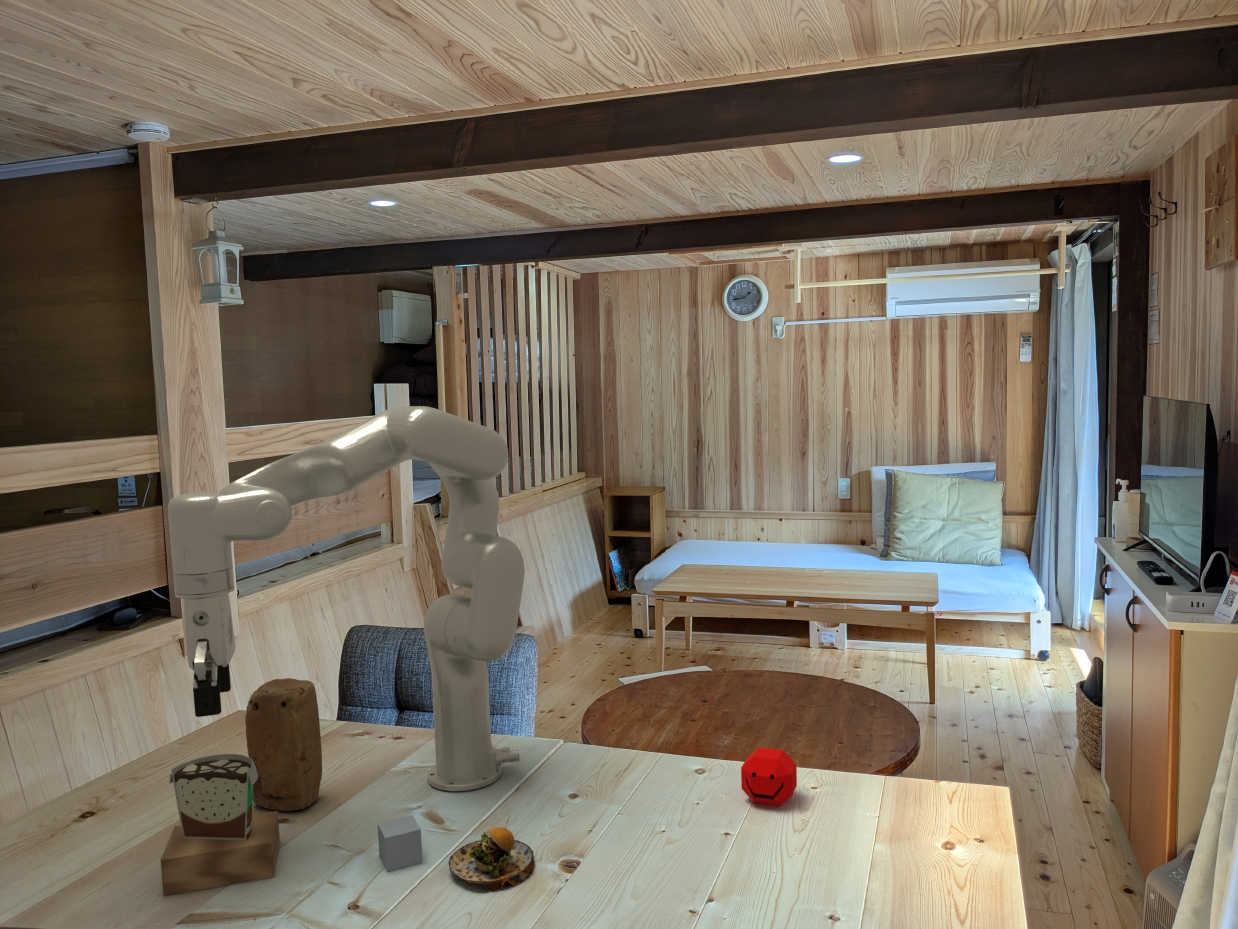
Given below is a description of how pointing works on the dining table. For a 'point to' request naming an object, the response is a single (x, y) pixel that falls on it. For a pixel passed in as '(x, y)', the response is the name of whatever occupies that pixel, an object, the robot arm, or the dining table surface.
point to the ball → (769, 776)
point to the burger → (493, 860)
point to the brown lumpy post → (285, 744)
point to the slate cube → (400, 843)
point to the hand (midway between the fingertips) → (213, 703)
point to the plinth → (221, 858)
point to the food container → (215, 796)
